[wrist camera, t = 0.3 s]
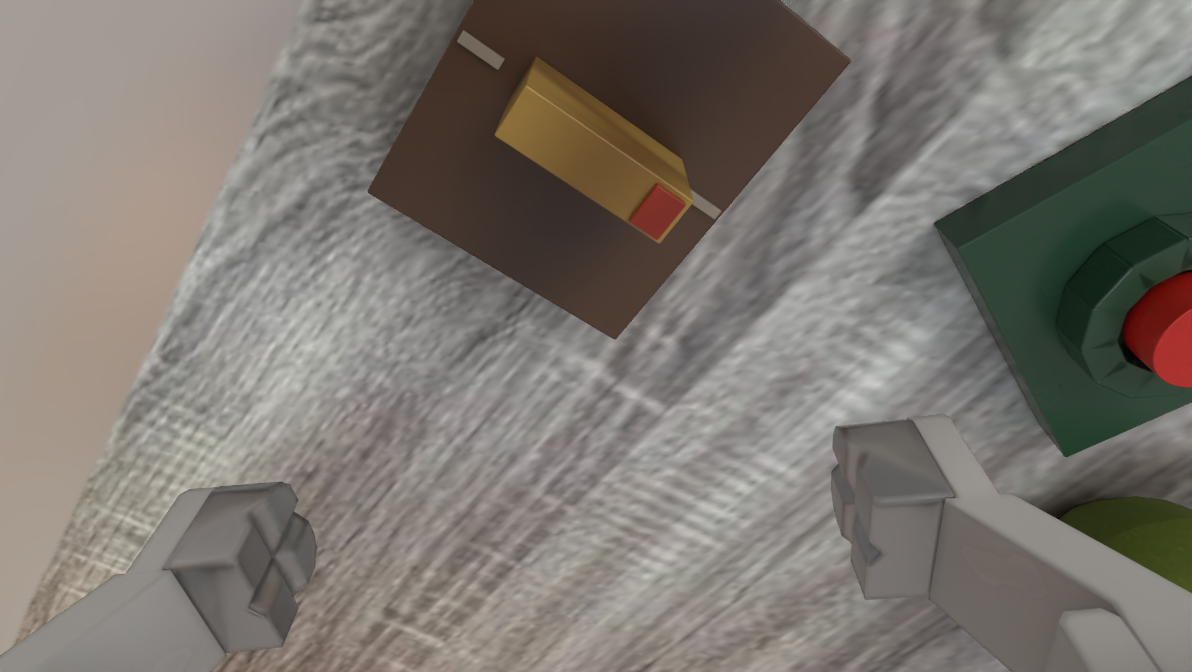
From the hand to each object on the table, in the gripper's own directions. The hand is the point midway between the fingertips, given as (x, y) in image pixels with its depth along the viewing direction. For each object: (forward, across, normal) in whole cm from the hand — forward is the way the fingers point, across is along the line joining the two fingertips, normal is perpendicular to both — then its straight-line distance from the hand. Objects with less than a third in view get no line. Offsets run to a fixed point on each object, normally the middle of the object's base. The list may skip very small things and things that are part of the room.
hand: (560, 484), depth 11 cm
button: (+14, -20, +8) cm, 26 cm away
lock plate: (+18, -1, -1) cm, 18 cm away
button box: (+18, -20, +8) cm, 28 cm away
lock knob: (+15, -1, -1) cm, 15 cm away
